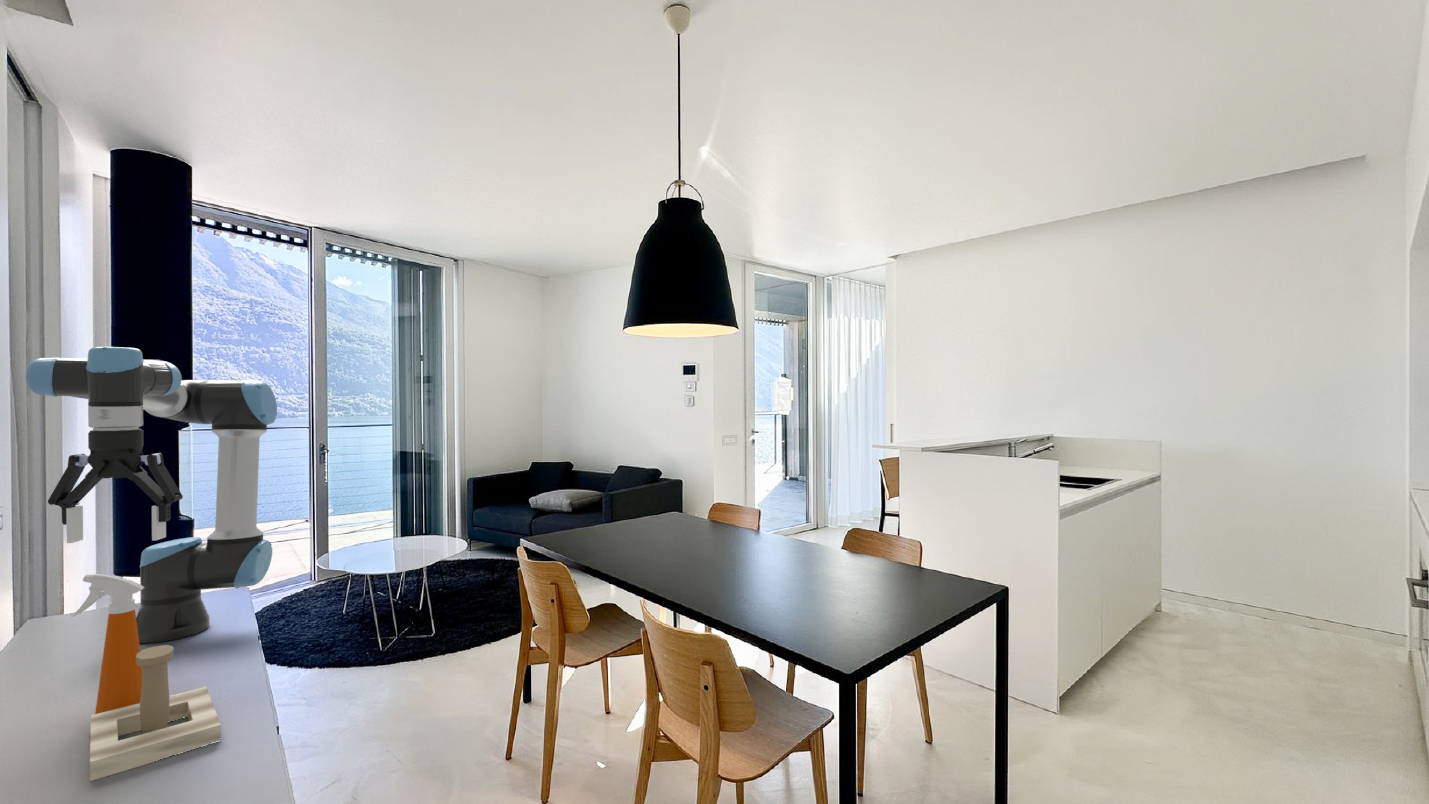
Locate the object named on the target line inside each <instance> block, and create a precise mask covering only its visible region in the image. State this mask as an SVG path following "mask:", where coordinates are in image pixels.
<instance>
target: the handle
mask: <svg viewBox="0 0 1429 804" xmlns="http://www.w3.org/2000/svg"><path fill="white" fill-rule="evenodd" d="M173 658H174V646H173V645H170V644H164V645H156V646H152V647H147V648H144V649H142V650H140V652H139V653H137V655H136V664H137V665H138V666H141V667H142V687H141V699H140V722H141V729H142V730H141V734H145V733H148V732H152V731H156V730H159V729H163V728H167V727H169V725H168V718H169V700H170V699H169V696H170V688H169V674H168V663H169V661H170V660H172V659H173ZM141 734H140V735H141Z"/></svg>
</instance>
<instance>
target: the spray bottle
mask: <svg viewBox="0 0 1429 804" xmlns="http://www.w3.org/2000/svg"><path fill="white" fill-rule="evenodd" d="M82 581H83V582H85V583H89V584H90V586H89V587H88V589H89V595H88V596H87V597H86V599H85V600H84V602H83V603H82V604H81V606H80V607H79V608H78V609H77V610H76V611H75V612H74V613H73V614H72V615H71V617H72V618H73V617H75V616H77V615H79V614H82V613H83V612H84V611H86V610H87V609H89V608H90V607H91V606H92V605H94V604H95V603H96V602H97V601H98V600H99V599H102V597H104V596H107V595H109V596H111V599H110V600H111V601H110V602H109V603H108V614H107V615H108V617H107V623H106V630H105V631H106V632H105V638H104V647H103V654H102V660H101V668H100V676H99V683H98V690H97V697H96V706H95V712H94V713H95V714H99V713H103V712H107V711H111V710H115V709H119V708H123V707H127V706H131V705H135V704H139V703H140V699H141V687H142V667H141V666H138V665H137V664H136V655H137V653H139V652H140V651H141V649H140V648H141V646H140V643H139V638H138V630H137V622H136V616H137V614H136V608H135V606H136V605H135V604H136V603H135V602H136V601H135V598H133V596H134V594H137V593H139V592H140V590H142V589H144V588H145V587H143V586H142V585H140V583H138V582H136V581H133V580H131V579H127V578H122V577H119V576H115V575H114V576H113V575H110V574H101V573H99V572H98V573H95V574H85V575H84V576H83V578H82ZM102 591H103V592H102ZM95 714H94V715H95Z"/></svg>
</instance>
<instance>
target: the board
mask: <svg viewBox="0 0 1429 804" xmlns="http://www.w3.org/2000/svg"><path fill="white" fill-rule="evenodd" d="M169 699H170V700H169V718H168V722H169V721H173V722H176V721H179V720H178V719H180V720H182V719H181V718H183V717H188V718H187V720H188V721H186V722H185V721H184V722H182V723H178V724H175V725H170V726H168V727H167V728H163V729H159V730H156V731H152V732H148V733H145V734H138V735H135V736H131V737H127V738H124V739H120V740H119V737H121V736H124V735H127V734H131V733H135V732H140V731H142V729H141V722H140V703H139V704H135V705H131V706H127V707H123V708H119V709H115V710H111V711H107V712H103V713H99V714H92V715H90V732H89V733H90V734H89V735H90V741H89V745H90V746H89V782H92V781H95V780H99V779H103V778H106V777H108V776H112V775H115V774H120V773H122V772H126V771H129V770H132V769H135V768H138V767H142V766H145V765H148V764H152V763H155V761H156V762H159V761H161V760H160V759H162V760H164V759H163V758H166V757H168V756H170V755H175V756H177V755H176V754H178V753H181V752H185V751H188V750H190V749H193V748H198V747H201V746H203V745H206V744H211V743H212V742H216V741H219V740H221V741H222V739H221V735H222V733H221V731H222V729H221V727H222V726H221V722H220V719H219V716H218V714H217V711H216V708H215V706H214V703H213V701H212V700H213V699H212V697H211V695H210V692H209V690H208V688H207V686H203V687H199V688H195V689H191V690H187V691H184V692H180V693H179V692H178V693H176V694H171V695H169ZM175 720H176V721H175ZM169 723H170V722H169ZM185 753H186V752H185ZM166 759H167V758H166ZM158 760H159V761H158Z"/></svg>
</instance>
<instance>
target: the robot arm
mask: <svg viewBox="0 0 1429 804" xmlns="http://www.w3.org/2000/svg"><path fill="white" fill-rule="evenodd" d="M25 373H26V374H25V382H26V385H27V387H28V389H29V391H31V392H33V393H34V394H36V395H39V396H48V397H49V396H51V397H53V398H54V397H73V398H77V399H78V398H79V399H84V400H85V399H86V400H88V402H87V416H88V417H87V418H88V421H87V423H88V425H87V426H88V427H89V428H91V430H90V431H89V432H87V436H88V437H87V438H88V439H87V440H88V441H87V444H88V445H87V448H88V450H89V452H90V453H89V455H87V454H85V453H79V454H72V455H71V454H70V455H69V456H68V460H67V466H66V469H65V471H63V473H62V475H61V477H60V479H59V481H58V482H57V483H56V485H55V487H54V490H53V491H52V493H51V494H50V496H49V498H48V500H47V503H48V505H52V506H53V505H54V506H58V507H60V508H61V509H60V510H61V523H62V525H66V544H73V543H76V542H80V541H83V540H84V511H83V510H84V508H83V505H80V502H81V501H82V500H83V498H85V497H86V496H87V495H88V494H89V493H90V491H92V490H93V489H94V487H96V485H97V484H98V483H99V482H100V481H102V480H103V479H111V478H114V479H115V478H116V479H125V478H127V479H128V480H129V481H132V482H133V483H134V484H136V486H137V487H138V488H140V489H141V490H142V491H143V492H144V493H145V494H146V495H147V496H148V497H149V498H150V499H151V500H152V501H153V502H154V503H155V505H152V506H151V541H158V540H162V539H165V538H166V537H167V522H169V521H170V520H171V516H172V515H171V511H172V510H171V505H172V504H173V503H175V502H178V501H180V500H182V499H183V494H182V492H181V491H180V489H179V487H178V486H177V484H176V483H175V481H174V479H173V477H172V475H171V474H170V472H169V470H168V469H167V467H166V465H165V463H164V462H165V461H164V457H163V456H164V455H163V454H162V453H161V452H158V453H151V454H146V455H144V453H143V447H144V430H143V429H142V428H140V427H142V426H144V411H145V412H147V413H148V414H149V415H151V416H154V417H157V418H158V417H159V418H163V419H169V420H173V421H178V422H183V423H188V424H197V425H211V432H212V433H213V434H215V435H216V436H217V438H218V448H217V450H218V451H217V475H216V476H217V478H216V501H215V527H214V529H215V530H214V531H213V532H212V533H211V534H209V535H208V536H207V537H206V539H207V540H206V543H203V539H202V538H201V536H200V537H199V536H198V537H196V536H193V537H192V536H191V537H185V538H178V539H173V540H168V541H164V542H160V543H156V544H153V545H150V546H148V547H146V548H145V549H143V551H142V552H141V553H140V554H141V555H140V565H139V569H140V573H139V575H140V576H139V577H140V581H139V582H140V583H139V584H140V585H142V586H143V587H145V588H144V589H142V590H140V591H139V592H140V603H139V604H140V605H139V609H138V611H137V614H136V622H137V630H138V638H139V644H152V643H153V644H154V642H155V643H162V641H163V642H168V640H169V641H174V640H179V639H182V638H186V636H187V637H191V636H193V635H196V634H198V633H197V632H199V633H201V632H203V631H205V630H206V628H207V629H208V628H209V627H210V615H209V613H208V610H207V609H206V606H205V603H204V601H203V599H202V590H215V589H216V590H218V589H229V588H234V589H240V588H243V587H244V588H245V587H253V586H255V585H258V584H260V582H262V580H263V579H264V578H265V577H266V575H267V573H268V571H269V568H270V565H271V562H272V557H273V547H272V545H273V544H272V542H271V541H269V540H267V539H264V532H263V531H262V530H261V529H260V528H258V527H257V521H258V519H257V517H258V497H259V496H258V492H259V491H258V489H259V469H260V468H259V463H260V439H261V436H262V435H263V434H265V433H267V431H268V426H269V425H272V424H273V423H274V422H275V421H276V419H277V415H278V405H277V400H276V396H275V394H274V391H273V390H272V388H271V386H269V385H268V383H266V382H264V381H261V380H250V379H249V380H248V379H236V380H235V379H186V380H185V379H183V378H182V374H181V371H180V369H179V368H178V367H177V366H176V365H174V364H173V363H171V362H169V361H164V360H161V359H144V357H143V352H142V350H141V349H139V348H135V347H123V346H121V347H120V346H93V347H91V348H90V349H89V350H88V352H87V358H71V357H68V358H67V357H59V356H56V357H40V358H37V359H34V360H32V361H31V362H30V363H29V365H28V366H27V368H26V371H25ZM88 464H89V465H90V467H91V469H90V470H89V472H87V473H86V474H85V476H84V478H83V479H82V480H81V481H80V482H79V483H78V484H77V482H78V480H79V479H80V477H81V475H82V474H83V472H84V470H85V467H86V466H87V465H88ZM143 464H145V466H148V469H149V471H150V473H151V474H152V477H153V478H154V479H152V478H151V477H150V476H149V475H148V471H146V470H145V469H144V468H143V467H142V465H143ZM76 484H77V485H76Z"/></svg>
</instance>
